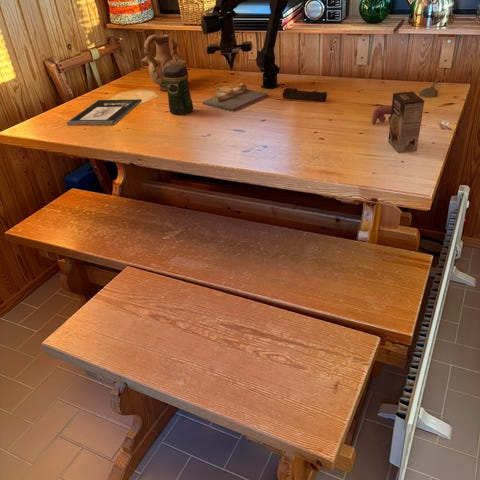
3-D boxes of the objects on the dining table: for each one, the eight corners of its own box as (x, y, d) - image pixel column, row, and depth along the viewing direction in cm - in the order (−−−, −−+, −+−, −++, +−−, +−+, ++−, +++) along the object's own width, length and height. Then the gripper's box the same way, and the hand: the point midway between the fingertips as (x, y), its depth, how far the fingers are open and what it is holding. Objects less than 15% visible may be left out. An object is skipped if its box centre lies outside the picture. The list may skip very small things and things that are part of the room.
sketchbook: (142, 102, 210) (141, 97, 209) (113, 127, 186) (112, 122, 185) (99, 102, 215) (98, 98, 213) (66, 126, 191) (64, 122, 190)
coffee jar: (196, 109, 193) (190, 63, 183) (186, 116, 187) (179, 69, 177) (177, 107, 197) (169, 62, 186) (167, 114, 191) (158, 68, 181)
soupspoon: (417, 99, 184) (434, 102, 181) (419, 91, 181) (436, 93, 179) (429, 81, 198) (445, 83, 196) (431, 73, 196) (447, 75, 193)
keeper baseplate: (238, 89, 210) (237, 78, 207) (268, 96, 199) (267, 84, 196) (202, 104, 198) (201, 92, 195) (232, 111, 187) (231, 99, 184)
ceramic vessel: (191, 90, 216) (182, 32, 202) (150, 97, 213) (139, 39, 198) (184, 80, 230) (176, 26, 216) (146, 86, 227) (135, 32, 213)
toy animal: (400, 126, 164) (402, 106, 163) (400, 125, 160) (403, 104, 159) (371, 125, 167) (374, 105, 166) (371, 124, 163) (373, 104, 162)
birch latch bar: (242, 88, 206) (242, 84, 205) (249, 90, 204) (248, 85, 203) (212, 100, 197) (212, 95, 196) (219, 101, 194) (218, 97, 193)
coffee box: (387, 142, 151) (392, 92, 142) (406, 139, 151) (412, 90, 142) (397, 153, 143) (403, 102, 134) (417, 151, 144) (425, 99, 134)
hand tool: (327, 100, 190) (327, 88, 187) (324, 103, 187) (324, 91, 184) (285, 96, 198) (285, 85, 195) (281, 99, 195) (281, 88, 192)
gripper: (200, 36, 184) (206, 75, 193) (246, 32, 181) (250, 73, 190) (207, 29, 193) (212, 67, 202) (251, 26, 189) (254, 65, 198)
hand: (231, 68), depth 198 cm, fingers closed
